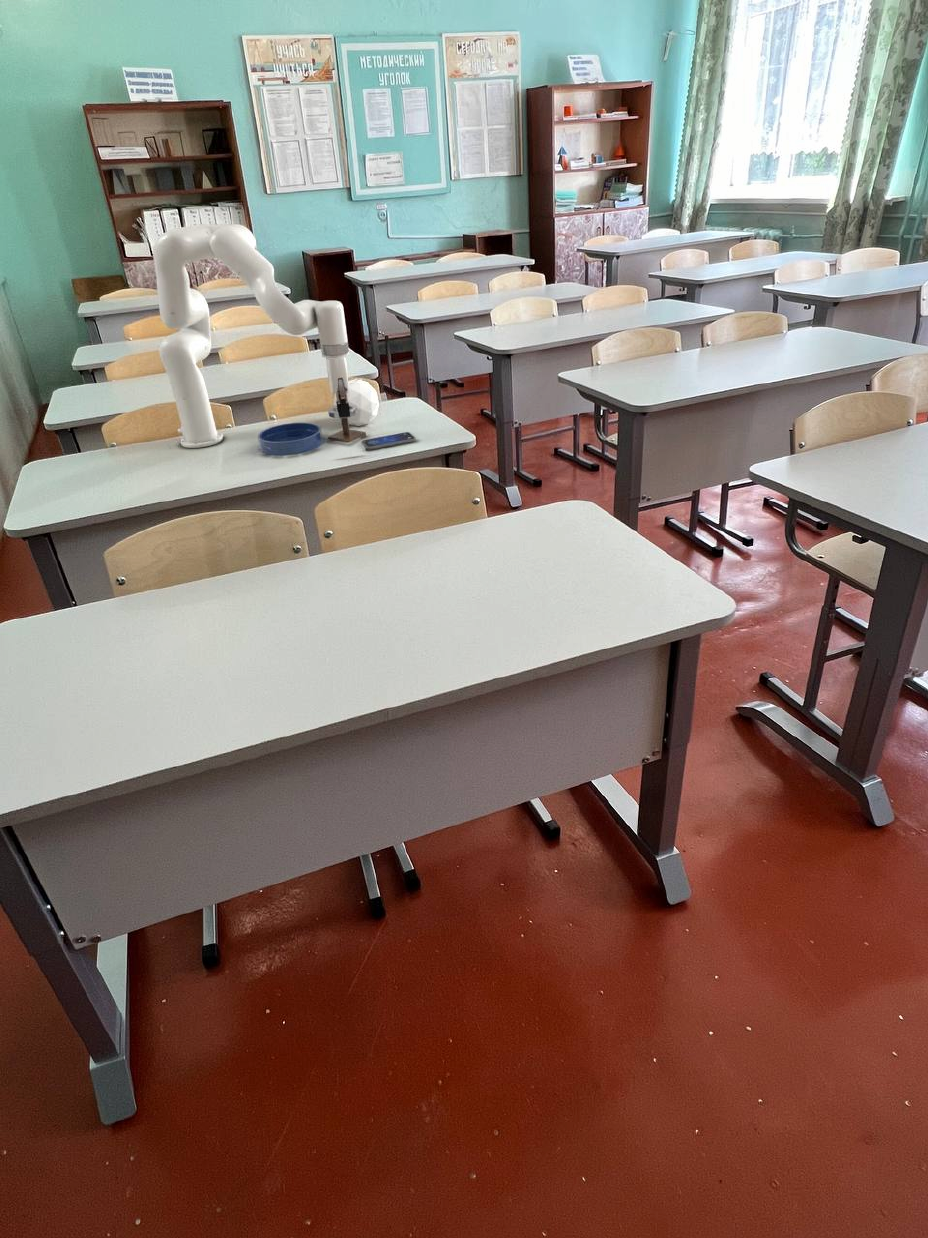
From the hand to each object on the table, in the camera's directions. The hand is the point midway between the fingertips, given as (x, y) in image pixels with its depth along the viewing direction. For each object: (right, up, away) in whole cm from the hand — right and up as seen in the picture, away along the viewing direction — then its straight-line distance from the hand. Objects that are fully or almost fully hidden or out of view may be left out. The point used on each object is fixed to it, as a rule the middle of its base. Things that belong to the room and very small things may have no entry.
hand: (344, 415), depth 218 cm
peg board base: (0, -5, +7) cm, 9 cm away
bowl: (-16, -8, +4) cm, 18 cm away
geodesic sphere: (+2, +2, +19) cm, 20 cm away
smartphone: (+13, -8, +2) cm, 15 cm away
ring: (-1, +1, +3) cm, 3 cm away
